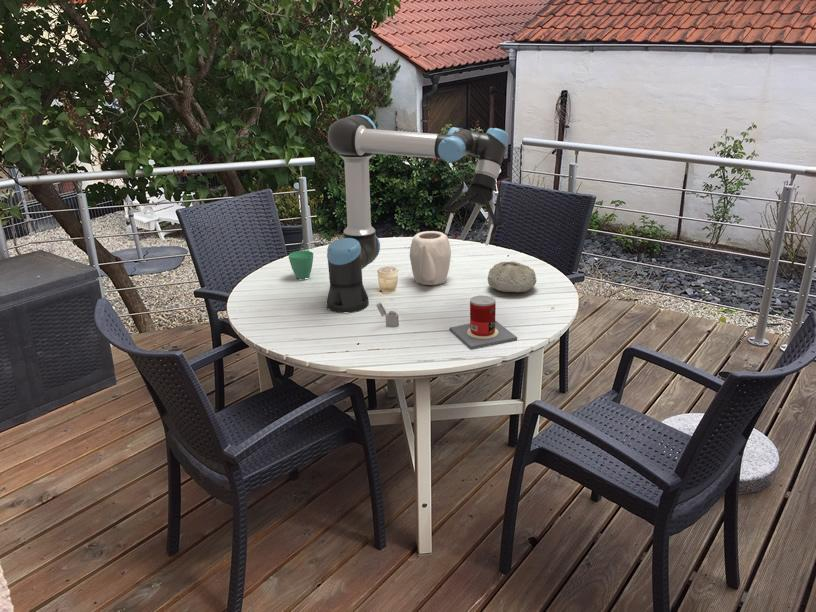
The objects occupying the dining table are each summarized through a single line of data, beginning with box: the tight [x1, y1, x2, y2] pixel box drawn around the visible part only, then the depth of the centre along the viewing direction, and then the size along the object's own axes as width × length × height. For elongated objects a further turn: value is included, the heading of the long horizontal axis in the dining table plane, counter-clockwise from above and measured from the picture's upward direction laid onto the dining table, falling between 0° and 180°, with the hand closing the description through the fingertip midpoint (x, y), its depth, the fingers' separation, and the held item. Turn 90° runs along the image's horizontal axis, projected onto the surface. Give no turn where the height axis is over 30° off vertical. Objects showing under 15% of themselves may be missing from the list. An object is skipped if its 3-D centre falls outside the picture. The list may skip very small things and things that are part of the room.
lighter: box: [375, 302, 400, 328], centre depth 227 cm, size 7×2×8 cm, turn 77°
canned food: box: [469, 295, 496, 336], centre depth 216 cm, size 8×8×11 cm
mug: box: [288, 248, 314, 279], centre depth 277 cm, size 15×10×10 cm
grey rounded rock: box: [487, 260, 537, 293], centre depth 254 cm, size 18×18×10 cm
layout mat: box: [449, 320, 518, 350], centre depth 218 cm, size 16×16×1 cm
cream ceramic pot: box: [409, 230, 452, 286], centre depth 263 cm, size 16×27×19 cm, turn 169°
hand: (466, 239), depth 221 cm, fingers open, 13 cm apart
